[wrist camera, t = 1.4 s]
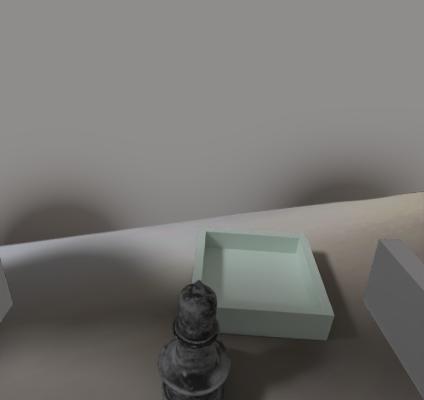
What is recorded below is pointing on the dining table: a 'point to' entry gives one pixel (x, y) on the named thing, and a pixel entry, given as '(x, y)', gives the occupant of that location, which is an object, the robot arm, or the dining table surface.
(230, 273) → the tray
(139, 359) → the dining table surface
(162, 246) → the dining table surface
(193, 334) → the salt shaker
